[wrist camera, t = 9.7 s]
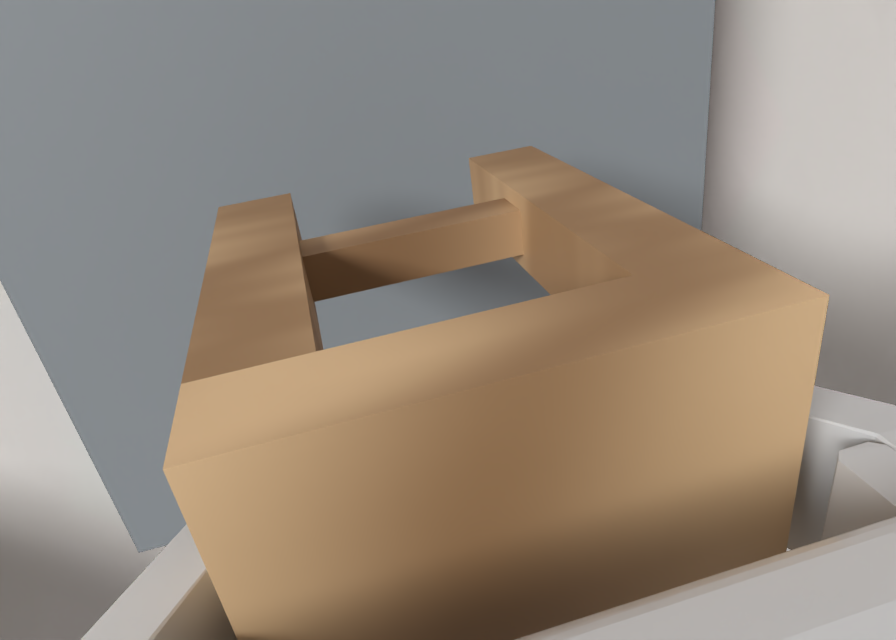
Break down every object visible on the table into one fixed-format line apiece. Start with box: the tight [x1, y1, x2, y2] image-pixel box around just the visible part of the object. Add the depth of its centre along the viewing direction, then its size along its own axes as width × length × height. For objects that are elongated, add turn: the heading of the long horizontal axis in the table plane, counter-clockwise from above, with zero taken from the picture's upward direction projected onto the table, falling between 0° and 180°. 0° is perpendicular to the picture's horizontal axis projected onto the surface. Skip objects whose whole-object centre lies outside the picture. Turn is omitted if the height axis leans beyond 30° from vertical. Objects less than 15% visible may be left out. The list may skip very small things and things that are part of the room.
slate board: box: [0, 0, 715, 553], centre depth 16 cm, size 16×13×2 cm
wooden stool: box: [163, 146, 829, 640], centre depth 9 cm, size 6×6×7 cm
